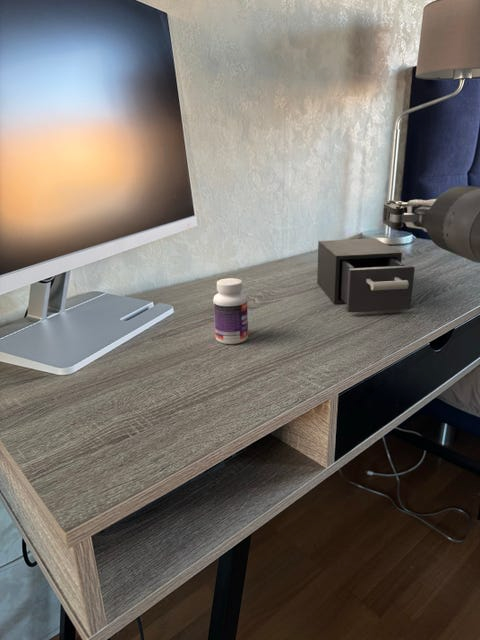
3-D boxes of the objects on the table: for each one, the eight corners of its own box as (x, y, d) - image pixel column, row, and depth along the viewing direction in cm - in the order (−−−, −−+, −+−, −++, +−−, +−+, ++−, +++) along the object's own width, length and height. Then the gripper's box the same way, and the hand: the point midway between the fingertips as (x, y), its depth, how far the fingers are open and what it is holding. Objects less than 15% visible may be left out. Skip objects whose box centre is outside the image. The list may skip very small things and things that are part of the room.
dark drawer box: (420, 317, 76) (425, 273, 73) (355, 321, 76) (358, 276, 73) (383, 287, 93) (386, 250, 90) (329, 290, 92) (330, 253, 89)
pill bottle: (249, 343, 71) (247, 285, 67) (216, 346, 70) (212, 287, 67) (246, 331, 76) (245, 275, 72) (215, 333, 75) (211, 277, 72)
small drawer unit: (397, 300, 87) (402, 252, 84) (334, 304, 87) (336, 256, 83) (372, 280, 101) (375, 238, 97) (317, 283, 100) (318, 241, 97)
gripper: (410, 261, 49) (361, 235, 65) (536, 255, 50) (458, 230, 65) (417, 191, 46) (365, 181, 62) (550, 185, 47) (465, 177, 63)
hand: (413, 206), depth 64 cm, fingers open, 6 cm apart
